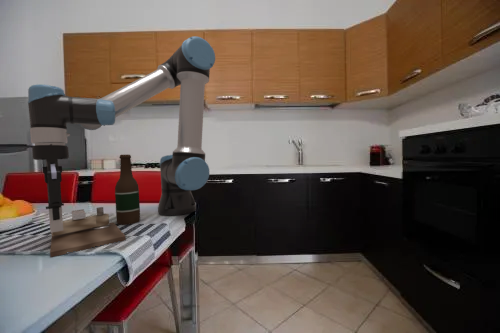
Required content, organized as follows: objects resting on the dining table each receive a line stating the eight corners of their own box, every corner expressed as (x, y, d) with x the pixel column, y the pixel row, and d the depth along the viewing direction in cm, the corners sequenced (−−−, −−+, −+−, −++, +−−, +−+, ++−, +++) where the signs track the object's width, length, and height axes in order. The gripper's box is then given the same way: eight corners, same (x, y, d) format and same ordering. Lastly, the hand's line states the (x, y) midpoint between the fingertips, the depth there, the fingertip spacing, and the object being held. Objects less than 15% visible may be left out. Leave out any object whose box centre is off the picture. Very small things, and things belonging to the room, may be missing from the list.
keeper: (108, 223, 79) (107, 205, 79) (111, 227, 74) (110, 209, 74) (73, 229, 73) (71, 210, 73) (74, 234, 68) (72, 214, 68)
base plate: (113, 225, 80) (113, 222, 80) (125, 240, 66) (125, 236, 66) (52, 236, 70) (52, 233, 70) (50, 257, 56) (50, 252, 56)
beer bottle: (124, 219, 88) (120, 154, 87) (145, 218, 88) (141, 154, 87) (111, 225, 81) (107, 154, 79) (133, 225, 80) (129, 154, 79)
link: (106, 221, 78) (105, 205, 78) (111, 224, 75) (110, 207, 75) (50, 233, 68) (49, 214, 67) (53, 236, 65) (51, 217, 64)
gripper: (70, 143, 62) (76, 232, 63) (65, 146, 71) (71, 223, 72) (31, 143, 57) (38, 240, 58) (31, 146, 66) (38, 229, 67)
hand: (56, 231), depth 65 cm, fingers closed
